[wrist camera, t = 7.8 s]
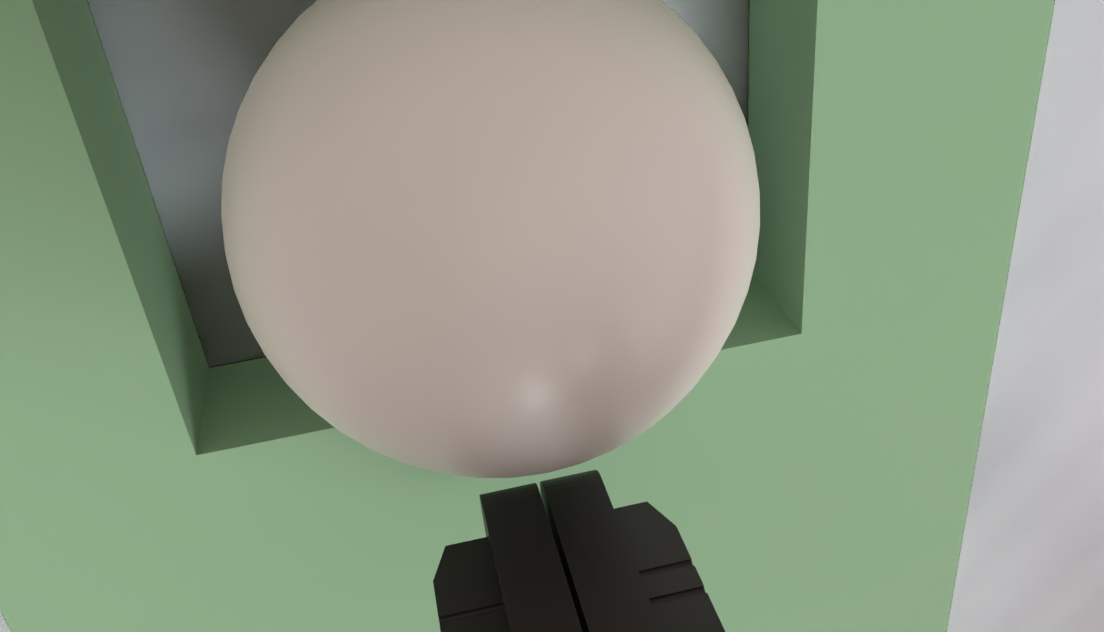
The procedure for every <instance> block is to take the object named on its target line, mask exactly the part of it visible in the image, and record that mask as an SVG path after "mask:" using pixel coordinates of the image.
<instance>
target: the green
mask: <svg viewBox="0 0 1104 632" xmlns="http://www.w3.org/2000/svg"><path fill="white" fill-rule="evenodd" d="M1054 4H1055V0H750V14H749V92H748V131H749V135H750V138H751V142H752V146H753V149H754V154H755V161H756V168H757V175H758V182H759V190H760V231H759V239H758V248H757V256H756V262H755V266H754V270H753V274H752V278H751V281H750V285H749V289H748V293H747V296H746V298H745V301H744V303H743V306H742V308H741V311H740V313H739V316H738V318H737V321H736V323H735V325H734V327H733V329H732V331H731V332H730V334H729V336H728V338H727V339H726V341H725V343H724V345H723V347H722V348H721V350H720V352H719V354H718V355H717V357H716V358H715V360H714V361H713V362H712V364H711V365H710V366H709V368H708V369H707V370H706V372H705V373H704V374H703V376H702V377H701V378H700V380H699V381H698V382H697V384H696V385H695V386H694V388H693V389H692V390H691V391H690V392H689V393H688V394H687V395H686V396H685V397H684V398H683V399H682V400H681V401H680V402H679V403H678V404H677V405H676V406H675V407H674V408H673V409H672V410H671V411H670V412H669V413H667V414H666V415H665V416H664V417H662V418H661V419H660V420H658V421H657V422H656V423H655V424H653V425H652V426H651V427H649V428H648V429H647V430H646V431H644V432H643V433H641V434H640V435H638V436H636V437H635V438H633V439H631V440H630V441H628V442H626V443H624V444H623V445H621V446H619V447H618V448H616V449H614V450H612V451H610V452H608V453H605V454H603V455H600V456H598V457H596V458H593V459H591V460H589V461H586V462H584V463H581V464H578V465H575V466H571V467H567V468H564V469H560V470H556V471H553V472H549V473H544V474H537V475H529V476H522V477H514V478H472V477H464V476H457V475H449V474H442V473H437V472H433V471H429V470H426V469H422V468H418V467H415V466H411V465H407V464H404V463H402V462H399V461H397V460H394V459H392V458H390V457H387V456H385V455H382V454H380V453H378V452H375V451H373V450H371V449H369V448H367V447H366V446H364V445H362V444H360V443H359V442H357V441H355V440H354V439H352V438H350V437H348V436H347V435H345V434H343V433H342V432H340V431H339V430H337V429H336V428H335V427H334V426H332V425H331V424H330V423H328V422H327V421H326V420H325V419H323V418H322V417H321V416H319V415H318V414H317V413H316V412H314V411H313V410H312V409H311V408H310V407H309V406H308V405H307V404H306V403H305V402H304V401H303V400H302V399H301V398H300V397H299V396H298V395H297V394H296V393H295V392H294V391H293V390H292V389H291V388H290V387H289V386H288V385H287V384H286V383H285V381H284V380H283V379H282V377H281V376H280V375H279V373H278V372H277V371H276V369H275V368H274V367H273V365H272V364H271V363H270V361H269V360H268V359H267V357H264V358H259V359H254V360H248V361H243V362H238V363H233V364H227V365H222V366H217V367H212V368H209V366H208V363H207V360H206V357H205V354H204V351H203V348H202V345H201V342H200V339H199V336H198V333H197V330H196V327H195V324H194V321H193V318H192V315H191V312H190V309H189V306H188V303H187V300H186V297H185V294H184V291H183V288H182V285H181V282H180V279H179V276H178V273H177V270H176V267H175V264H174V261H173V258H172V255H171V252H170V249H169V246H168V243H167V240H166V237H165V234H164V231H163V228H162V225H161V222H160V219H159V216H158V213H157V210H156V207H155V204H154V201H153V198H152V195H151V192H150V189H149V186H148V183H147V180H146V177H145V174H144V171H143V168H142V165H141V162H140V159H139V156H138V153H137V150H136V147H135V144H134V141H133V138H132V135H131V132H130V129H129V126H128V122H127V119H126V116H125V113H124V110H123V107H122V104H121V101H120V98H119V95H118V92H117V89H116V86H115V83H114V80H113V77H112V74H111V71H110V68H109V65H108V62H107V59H106V56H105V53H104V50H103V47H102V44H101V41H100V38H99V35H98V32H97V29H96V26H95V23H94V20H93V17H92V14H91V11H90V8H89V5H88V2H87V0H0V612H1V614H2V616H3V617H4V619H5V621H6V623H7V625H8V626H9V628H10V630H11V632H441V631H440V623H439V618H438V611H437V605H436V598H435V591H434V585H433V580H434V577H435V574H436V571H437V568H438V566H439V563H440V560H441V557H442V554H443V551H444V549H445V546H448V545H452V544H457V543H461V542H466V541H470V540H475V539H479V538H484V537H486V533H485V527H484V521H483V516H482V510H481V504H480V497H479V495H480V494H485V493H490V492H494V491H499V490H504V489H508V488H513V487H518V486H522V485H527V484H532V483H536V484H537V486H538V488H539V491H540V481H544V480H549V479H554V478H558V477H563V476H568V475H572V474H577V473H582V472H586V471H591V470H597V471H598V472H599V474H600V476H601V478H602V480H603V483H604V485H605V488H606V491H607V493H608V496H609V498H610V501H611V503H612V506H613V508H619V507H624V506H628V505H633V504H637V503H642V502H646V501H647V502H648V503H650V504H651V505H652V506H653V507H654V508H655V509H657V510H658V511H659V512H660V513H661V514H663V515H664V516H665V517H666V518H667V519H668V520H670V521H671V522H672V523H673V524H674V525H676V526H677V529H678V531H679V533H680V535H681V537H682V539H683V541H684V544H685V546H686V548H687V550H688V552H689V554H690V557H691V559H692V564H693V566H694V565H695V567H696V569H697V572H698V574H699V576H700V578H701V580H702V582H703V585H704V589H705V592H706V593H708V595H709V597H710V600H711V602H712V604H713V606H714V608H715V610H716V613H717V615H718V617H719V619H720V621H721V623H722V626H723V628H724V630H725V632H947V626H948V620H949V614H950V608H951V603H952V597H953V591H954V585H955V579H956V574H957V568H958V562H959V556H960V550H961V545H962V539H963V533H964V527H965V521H966V516H967V510H968V504H969V498H970V492H971V486H972V481H973V475H974V469H975V463H976V457H977V452H978V446H979V440H980V434H981V428H982V423H983V417H984V411H985V405H986V399H987V394H988V388H989V382H990V376H991V370H992V365H993V359H994V353H995V347H996V341H997V335H998V330H999V324H1000V318H1001V312H1002V306H1003V301H1004V295H1005V289H1006V283H1007V277H1008V272H1009V266H1010V260H1011V254H1012V248H1013V243H1014V237H1015V231H1016V225H1017V219H1018V214H1019V208H1020V202H1021V196H1022V190H1023V184H1024V179H1025V173H1026V167H1027V161H1028V155H1029V150H1030V144H1031V138H1032V132H1033V126H1034V121H1035V115H1036V109H1037V103H1038V97H1039V92H1040V86H1041V80H1042V74H1043V68H1044V63H1045V57H1046V51H1047V45H1048V39H1049V33H1050V28H1051V22H1052V16H1053V10H1054ZM540 494H541V493H540Z"/></svg>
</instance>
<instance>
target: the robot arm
mask: <svg viewBox="0 0 1104 632" xmlns="http://www.w3.org/2000/svg"><path fill="white" fill-rule="evenodd" d="M540 493H541V494H540ZM479 497H480V504H481V510H482V516H483V521H484V527H485V533H486V537H484V538H479V539H475V540H470V541H466V542H461V543H457V544H452V545H448V546H445V549H444V551H443V554H442V557H441V560H440V563H439V566H438V568H437V571H436V574H435V577H434V580H433V585H434V591H435V598H436V605H437V611H438V618H439V623H440V631H441V632H725V630H724V628H723V626H722V623H721V621H720V619H719V617H718V615H717V613H716V610H715V608H714V606H713V604H712V602H711V600H710V597H709V595H708V593H706V592H705V589H704V585H703V582H702V580H701V578H700V576H699V574H698V572H697V569H696V567H695V565H694V566H693V564H692V559H691V557H690V554H689V552H688V550H687V548H686V546H685V544H684V541H683V539H682V537H681V535H680V533H679V531H678V529H677V526H676V525H674V524H673V523H672V522H671V521H670V520H668V519H667V518H666V517H665V516H664V515H663V514H661V513H660V512H659V511H658V510H657V509H655V508H654V507H653V506H652V505H651V504H650V503H648V502H647V501H646V502H642V503H637V504H633V505H628V506H624V507H619V508H613V506H612V503H611V501H610V498H609V496H608V493H607V491H606V488H605V485H604V483H603V480H602V478H601V476H600V474H599V472H598V471H597V470H591V471H586V472H582V473H577V474H572V475H568V476H563V477H558V478H554V479H549V480H544V481H540V491H539V488H538V486H537V484H536V483H532V484H527V485H522V486H518V487H513V488H508V489H504V490H499V491H494V492H490V493H485V494H480V495H479Z"/></svg>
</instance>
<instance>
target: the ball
mask: <svg viewBox="0 0 1104 632" xmlns="http://www.w3.org/2000/svg"><path fill="white" fill-rule="evenodd" d="M221 218H222V228H223V237H224V247H225V255H226V259H227V263H228V267H229V271H230V275H231V280H232V284H233V288H234V291H235V294H236V296H237V299H238V301H239V304H240V306H241V309H242V312H243V314H244V317H245V319H246V322H247V324H248V326H249V328H250V329H251V331H252V333H253V335H254V337H255V338H256V340H257V342H258V344H259V346H260V347H261V349H262V351H263V353H264V355H265V356H266V357H267V359H268V360H269V361H270V363H271V364H272V365H273V367H274V368H275V369H276V371H277V372H278V373H279V375H280V376H281V377H282V379H283V380H284V381H285V383H286V384H287V385H288V386H289V387H290V388H291V389H292V390H293V391H294V392H295V393H296V394H297V395H298V396H299V397H300V398H301V399H302V400H303V401H304V402H305V403H306V404H307V405H308V406H309V407H310V408H311V409H312V410H313V411H314V412H316V413H317V414H318V415H319V416H321V417H322V418H323V419H325V420H326V421H327V422H328V423H330V424H331V425H332V426H334V427H335V428H336V429H337V430H339V431H340V432H342V433H343V434H345V435H347V436H348V437H350V438H352V439H354V440H355V441H357V442H359V443H360V444H362V445H364V446H366V447H367V448H369V449H371V450H373V451H375V452H378V453H380V454H382V455H385V456H387V457H390V458H392V459H394V460H397V461H399V462H402V463H404V464H407V465H411V466H415V467H418V468H422V469H426V470H429V471H433V472H437V473H442V474H449V475H457V476H464V477H472V478H514V477H522V476H529V475H537V474H544V473H549V472H553V471H556V470H560V469H564V468H567V467H571V466H575V465H578V464H581V463H584V462H586V461H589V460H591V459H593V458H596V457H598V456H600V455H603V454H605V453H608V452H610V451H612V450H614V449H616V448H618V447H619V446H621V445H623V444H624V443H626V442H628V441H630V440H631V439H633V438H635V437H636V436H638V435H640V434H641V433H643V432H644V431H646V430H647V429H648V428H649V427H651V426H652V425H653V424H655V423H656V422H657V421H658V420H660V419H661V418H662V417H664V416H665V415H666V414H667V413H669V412H670V411H671V410H672V409H673V408H674V407H675V406H676V405H677V404H678V403H679V402H680V401H681V400H682V399H683V398H684V397H685V396H686V395H687V394H688V393H689V392H690V391H691V390H692V389H693V388H694V386H695V385H696V384H697V382H698V381H699V380H700V378H701V377H702V376H703V374H704V373H705V372H706V370H707V369H708V368H709V366H710V365H711V364H712V362H713V361H714V360H715V358H716V357H717V355H718V354H719V352H720V350H721V348H722V347H723V345H724V343H725V341H726V339H727V338H728V336H729V334H730V332H731V331H732V329H733V327H734V325H735V323H736V321H737V318H738V316H739V313H740V311H741V308H742V306H743V303H744V301H745V298H746V296H747V293H748V289H749V285H750V281H751V278H752V274H753V270H754V266H755V262H756V256H757V248H758V239H759V231H760V190H759V182H758V175H757V168H756V161H755V154H754V149H753V146H752V142H751V138H750V135H749V131H748V127H747V124H746V120H745V118H744V115H743V113H742V110H741V108H740V106H739V103H738V101H737V98H736V96H735V93H734V91H733V89H732V87H731V85H730V83H729V82H728V80H727V78H726V76H725V75H724V73H723V71H722V69H721V68H720V66H719V64H718V62H717V61H716V59H715V58H714V56H713V55H712V54H711V52H710V51H709V50H708V48H707V47H706V46H705V44H704V43H703V42H702V40H701V39H700V38H699V36H698V35H697V34H696V33H695V31H694V30H693V29H692V28H691V27H690V26H689V25H688V24H687V23H686V22H685V21H684V20H683V19H682V18H681V17H680V16H679V15H678V14H677V13H676V12H675V11H674V10H673V9H672V8H671V7H670V6H669V5H667V4H666V3H665V2H664V1H662V0H316V1H315V2H314V3H313V4H312V5H311V6H310V7H308V8H307V9H306V10H305V11H304V12H303V13H302V14H301V15H299V17H298V18H297V19H296V20H295V21H294V22H293V24H292V25H291V26H290V27H289V28H288V29H287V30H286V32H285V33H284V34H283V35H282V36H281V37H280V39H279V40H278V41H277V42H276V44H275V45H274V47H273V48H272V50H271V51H270V53H269V54H268V56H267V57H266V59H265V60H264V62H263V64H262V65H261V67H260V68H259V70H258V71H257V73H256V74H255V76H254V78H253V80H252V82H251V84H250V86H249V88H248V90H247V92H246V95H245V97H244V99H243V101H242V103H241V105H240V107H239V110H238V113H237V116H236V119H235V122H234V126H233V129H232V132H231V135H230V138H229V141H228V147H227V152H226V158H225V164H224V170H223V176H222V198H221Z"/></svg>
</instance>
